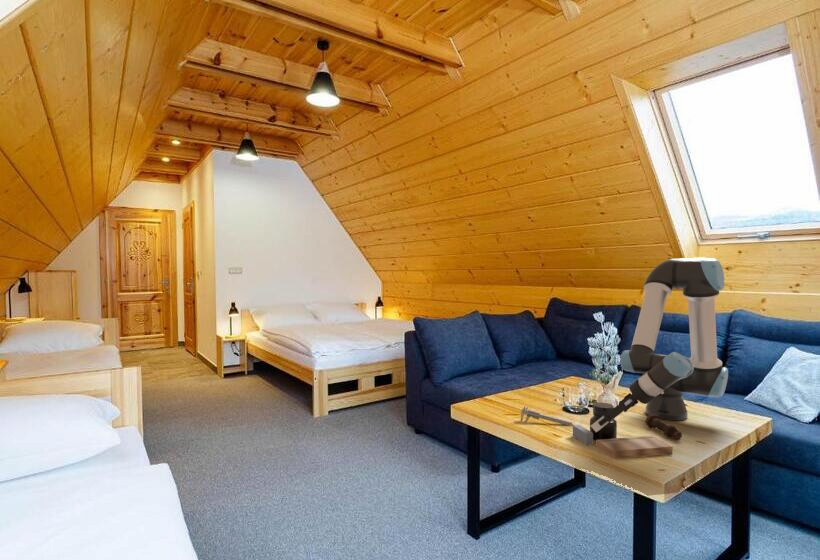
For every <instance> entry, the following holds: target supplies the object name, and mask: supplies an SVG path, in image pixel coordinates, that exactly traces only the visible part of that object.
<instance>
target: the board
mask: <svg viewBox="0 0 820 560" xmlns="http://www.w3.org/2000/svg"><path fill="white" fill-rule="evenodd" d="M595 447H596V448H597V449H599V450H600V451H601V452H603V453H604V454H606V455H608V456H609V457H610V458H612V459H614V460H615V459H625V458H626V459H627V458H634V457H635V458H636V457H637V458H638V457H639V458H640V457H650V456H659V455H673V453H674V452H673V450H674V449H673V446H672V445H671V444H669V443H667V442H665V441H663V440H661V439H660V438H658V437H656V436H653V435H642V436H629V437H628V436H627V437H617V438H614V439H601V440H596V441H595Z"/></svg>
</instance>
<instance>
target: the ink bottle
mask: <svg viewBox="0 0 820 560" xmlns="http://www.w3.org/2000/svg"><path fill="white" fill-rule="evenodd" d="M613 408H615V407H614V405H613V404H611V403H607V402H593V404H592V416H591V417H590V418H589V431H590V432H592V433H593V441H595V442H596V440H601V439H614V438H618V437H617V436H618V435H617V434H618V432H617V431H618V430H617V428H618V423H617V421H616V419H615V418H614V419H612V420H611V422H609V423H608V424H606V425H605V426H604V427H603V428H601V429H600V430H599V431H597V432H595V431H594V429H593V428H592V427H591V425H592V424H593V423H595V422H596V421H597V420H598V419H600V418H601V417H602V416H604V415H603V413H605V414H607V413H608V412H609V411H611V410H612V409H613Z"/></svg>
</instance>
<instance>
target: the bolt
mask: <svg viewBox="0 0 820 560" xmlns="http://www.w3.org/2000/svg"><path fill="white" fill-rule="evenodd" d="M644 422H645V424H646V425H647V427H648V428H649V429H657V430H659V431H661V433H663V435H664V436H665V437H666V438H671V439H674V440H676V441H678V440H681V439H682V437H683V433H682V432H681V431H680V430H678V429H677V427H676V426H675V425H674V424H671V423H670V424H669V423H668V424H667V423H665V422H664V421H662V419H660V418H659V416H658V415H657V414H650V415H648V414H647V417H646V419H645V421H644Z"/></svg>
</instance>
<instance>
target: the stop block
mask: <svg viewBox="0 0 820 560" xmlns="http://www.w3.org/2000/svg"><path fill="white" fill-rule="evenodd" d="M573 436H574V438H575V439H576V438H577V439H576V440H578V441H579V440H580V441H579V442H581V443H582V444H583V445H585V446H593V445H594V440H593V433H592V432H590V429H587V428H586V427H584V426H582V425H581V424H575V425H572V437H573Z"/></svg>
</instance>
